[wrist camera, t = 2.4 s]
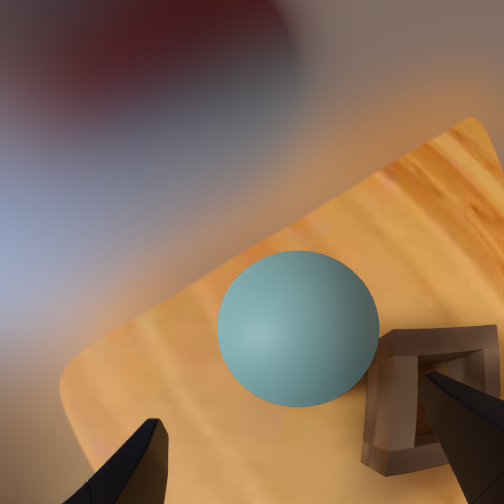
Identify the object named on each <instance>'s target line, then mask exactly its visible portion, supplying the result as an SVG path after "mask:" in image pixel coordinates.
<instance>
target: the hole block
mask: <svg viewBox="0 0 504 504" xmlns="http://www.w3.org/2000/svg"><path fill="white" fill-rule="evenodd" d="M443 362H448V377H450V378H453V379H455V380H457V381H459V382H462V383H464V384H466V385H468V386H471V387H473V388H475V389H478V390H480V391H482V392H485V393H487V394H489V395H492V396H494V397H496V398H499V399H500V361H499V346H498V335H497V326H496V325H485V326H471V327H455V328H434V329H393V330H391V331H390V332H388V333H387V334H385V335H384V336H382V337H381V338H379V339H378V345H377V349H376V352H375V355H374V358H373V360H372V362H371V364H370V366H369V368H368V369H367V393H366V411H365V424H364V436H363V445H362V454H361V463H363V464H364V465H366V466H368V467H369V468H371V469H373V470H374V471H376V472H378V473H380V474H381V475H383V476H385V477H387V476H393V475H399V474H405V473H410V472H415V471H419V470H424V469H428V468H432V467H436V466H440V465H444V464H447V463H449V461H448V459H447V457H446V455H445V453H444V451H443V449H442V447H441V445H440V443H439V441H438V439H437V437H436V436H435V434H434V432H432V433H427V434H421V435H415V431H416V417H417V394H418V365H422V364H433V363H443Z"/></svg>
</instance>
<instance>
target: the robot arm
mask: <svg viewBox="0 0 504 504" xmlns="http://www.w3.org/2000/svg"><path fill="white" fill-rule="evenodd" d="M418 395H419V398H420V400H421V403H422V405H423V408H424V410H425V413H426V415H427V418H428V421H429V423H430V425H431V428H432V430H433V432H434V434H435V436H436V437H437V439H438V441H439V443H440V445H441V447H442V449H443V451H444V453H445V455H446V457H447V459H448V461H449V463H450V465H451V467H452V470H453V472H454V474H455V476H456V478H457V480H458V482H459V485H460V487H461V489H462V491H463V493H464V496H465V498H466V500H467V502H468V504H504V400H501V399H499V398H496V397H494V396H492V395H489V394H487V393H485V392H482V391H480V390H478V389H475V388H473V387H471V386H468V385H466V384H464V383H462V382H459V381H457V380H455V379H453V378H450V377H448V376H446V375H444V374H441V373H439V372H437V371H435V370H430V371H428V372H425V373H423V374H422V377H421V380H420V384H419V387H418ZM168 441H169V438H168V433H167V431H166V429H165V427H164V425H163V423H162V421H161V420H160V419H158V418H149V419H147V420H146V421H145V422H144V423H143V424H142V425H141V426H140V427H139V428H138V429H137V430H136V431H135V432H134V434H133V435H132V436H131V437H130V438H129V439H128V440H127V441H126V442H125V443H124V444H123V445H122V446H121V447H120V448H119V449H118V450H117V451H116V452H115V453H114V454H113V455H112V457H111V458H110V459H109V460H108V461H107V462H106V463H105V464H104V465H103V466H102V467H101V468H100V469H99V470H98V471H97V472H96V473H95V474H94V475H93V476H92V477H91V478H90V479H89V480H88V482H86V483H85V484H84V485H83V486H82V487H81V488H80V489H79V490H77V491H76V492H75V493H74V494H73V495H72V496H71V497H70V498H68V499H67V500H66V501H65V502H63V503H62V504H164V500H165V493H166V485H167V478H168Z"/></svg>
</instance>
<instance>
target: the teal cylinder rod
mask: <svg viewBox="0 0 504 504" xmlns="http://www.w3.org/2000/svg"><path fill="white" fill-rule="evenodd" d="M217 334H218V342H219V347H220V350H221V353H222V356H223V359H224V361H225V363H226V365H227V367H228V368H229V370H230V371H231V373H232V374H233V375H234V377H235V378H236V379H237V380H238V381H239V382H240V383H241V384H242V385H243V386H244V387H245V388H246V389H248V390H249V391H250V392H251V393H253V394H255V395H256V396H258V397H260V398H262V399H264V400H266V401H269V402H271V403H274V404H278V405H282V406H290V407H308V406H314V405H319V404H322V403H325V402H329V401H331V400H333V399H335V398H337V397H339V396H341V395H342V394H344V393H345V392H347V391H348V390H349V389H351V388H352V387H353V386H354V385H355V384H356V383H357V382H358V381H359V380H360V379H361V378H362V376H363V375H364V374H365V372H366V371H367V369H368V368H369V366H370V364H371V362H372V360H373V358H374V355H375V352H376V349H377V345H378V339H379V319H378V313H377V309H376V306H375V303H374V300H373V298H372V296H371V294H370V292H369V290H368V288H367V287H366V286H365V284H364V283H363V281H362V280H361V279H360V278H359V277H358V276H357V275H356V274H355V273H354V272H353V271H352V270H351V269H350V268H348V267H347V266H345V265H344V264H342V263H341V262H339V261H337V260H335V259H333V258H331V257H329V256H326V255H323V254H319V253H315V252H309V251H286V252H281V253H276V254H273V255H270V256H267V257H265V258H263V259H261V260H259V261H257V262H255V263H254V264H252V265H251V266H249V267H248V268H246V269H245V270H244V271H243V272H242V273H241V274H240V275H239V276H238V277H237V278H236V279H235V280H234V281H233V283H232V284H231V286H230V287H229V289H228V290H227V292H226V294H225V296H224V298H223V301H222V304H221V306H220V310H219V315H218V323H217Z"/></svg>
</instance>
